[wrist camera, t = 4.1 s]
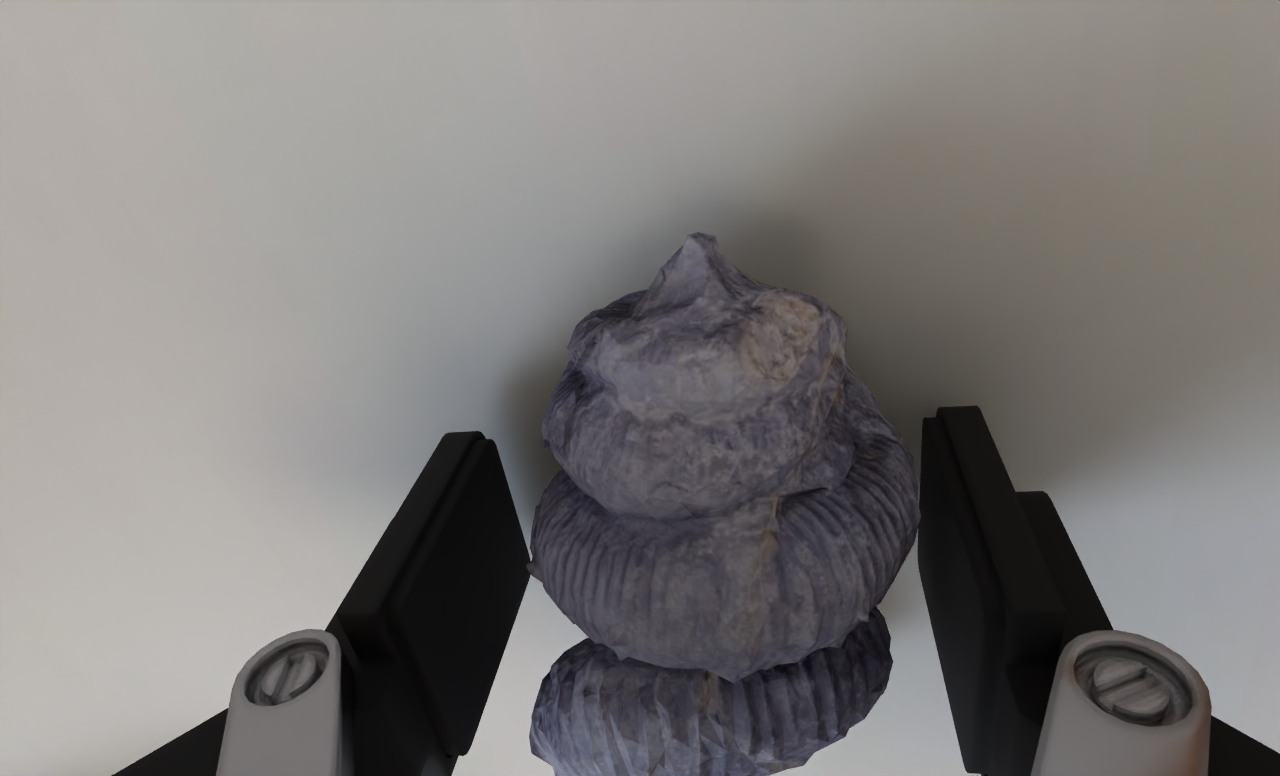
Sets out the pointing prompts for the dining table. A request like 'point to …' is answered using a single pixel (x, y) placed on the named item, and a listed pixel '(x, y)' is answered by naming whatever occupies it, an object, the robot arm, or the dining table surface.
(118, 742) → the dining table surface
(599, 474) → the seashell
